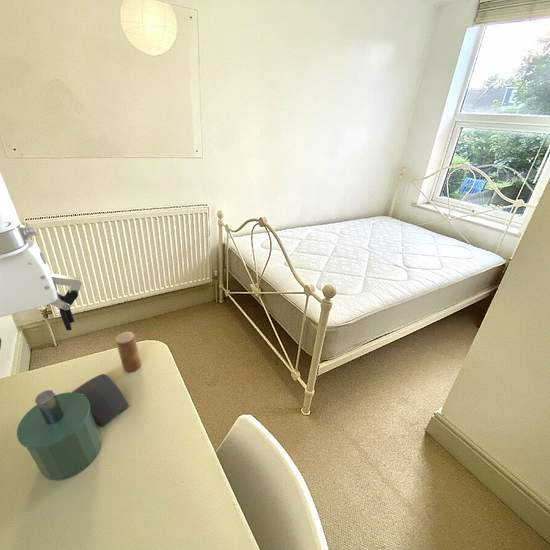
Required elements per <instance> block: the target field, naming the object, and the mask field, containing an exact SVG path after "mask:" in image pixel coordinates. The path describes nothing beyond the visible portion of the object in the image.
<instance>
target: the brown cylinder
mask: <svg viewBox="0 0 550 550" xmlns="http://www.w3.org/2000/svg"><path fill="white" fill-rule="evenodd" d="M115 344H116V348H117V352H118V354H119V358H120V362H121V365H122V369H123V371H124V372H126V373H133V372H137V371H138V370H139V369H140V368H141V366H142V361H141V356H140V352H139V349H138V345H137V340H136V336H135V333H134V332H132V331H124V332H121V333H119V334H117V336H115Z"/></svg>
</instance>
